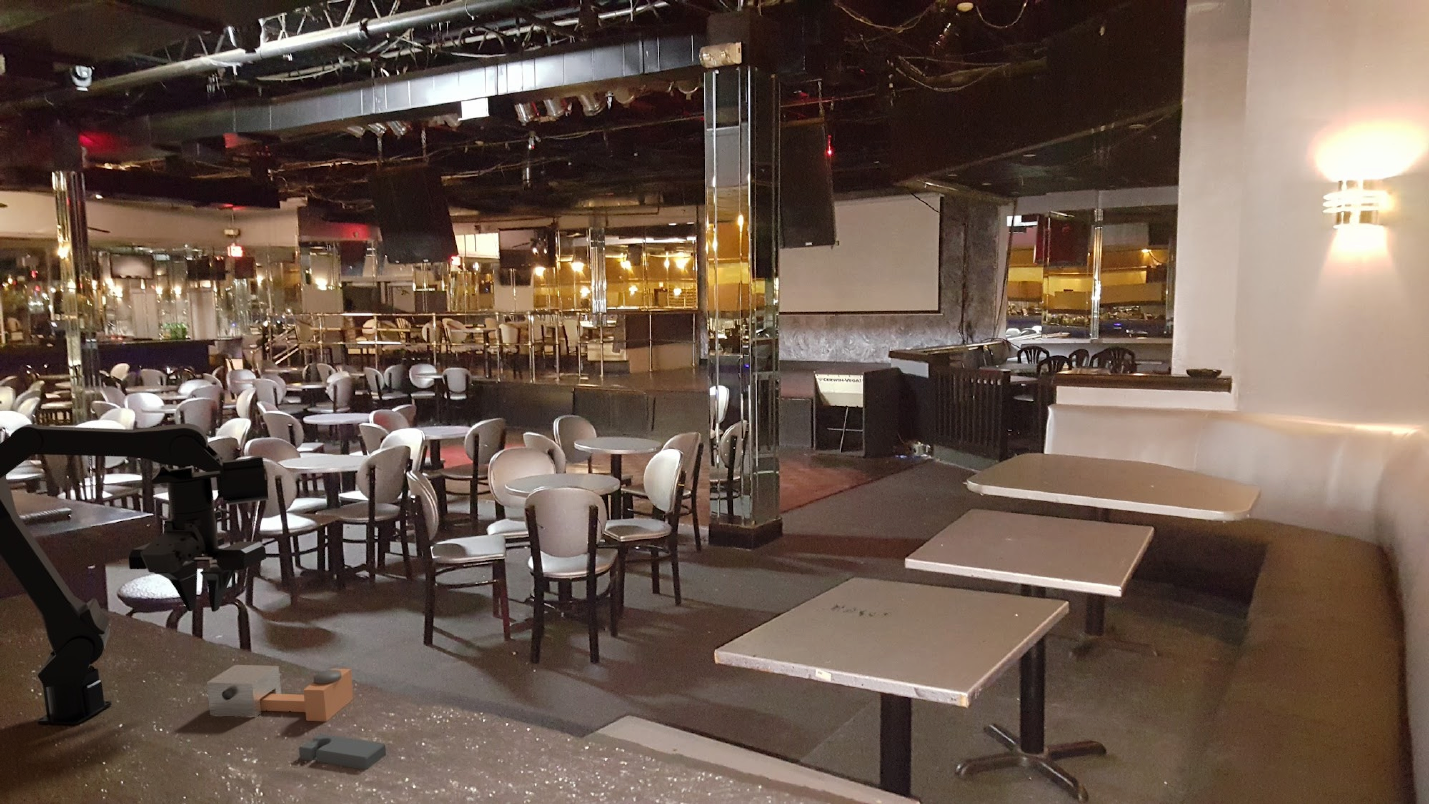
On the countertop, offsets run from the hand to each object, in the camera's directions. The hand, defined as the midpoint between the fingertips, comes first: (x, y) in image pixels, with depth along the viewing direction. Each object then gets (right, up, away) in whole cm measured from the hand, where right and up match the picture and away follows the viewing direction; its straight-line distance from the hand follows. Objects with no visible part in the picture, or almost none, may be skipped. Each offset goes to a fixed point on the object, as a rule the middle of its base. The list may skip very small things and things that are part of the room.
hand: (203, 610), depth 136 cm
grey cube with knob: (+10, -13, -6) cm, 17 cm away
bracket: (+30, -14, -21) cm, 39 cm away
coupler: (+18, -12, -7) cm, 23 cm away
